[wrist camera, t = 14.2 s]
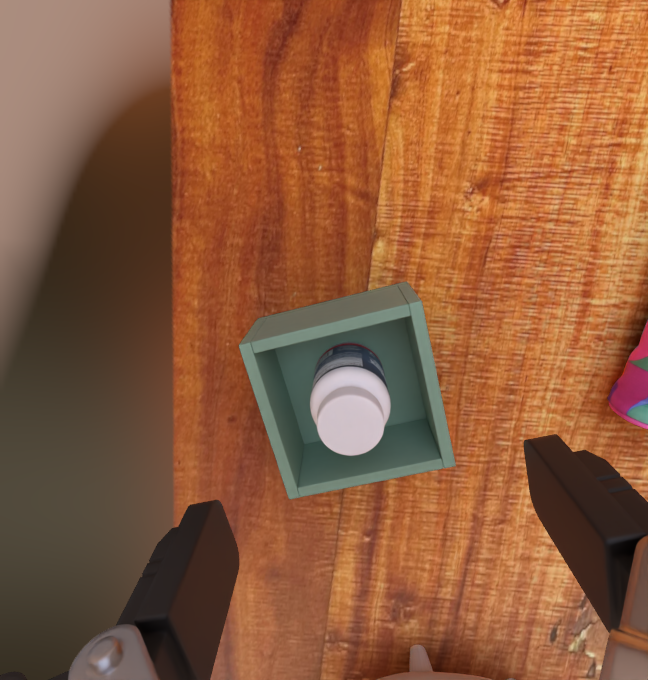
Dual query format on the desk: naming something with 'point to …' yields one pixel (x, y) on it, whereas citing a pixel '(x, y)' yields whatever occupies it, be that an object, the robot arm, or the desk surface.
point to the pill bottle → (350, 398)
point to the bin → (297, 381)
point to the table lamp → (427, 669)
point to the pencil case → (633, 386)
